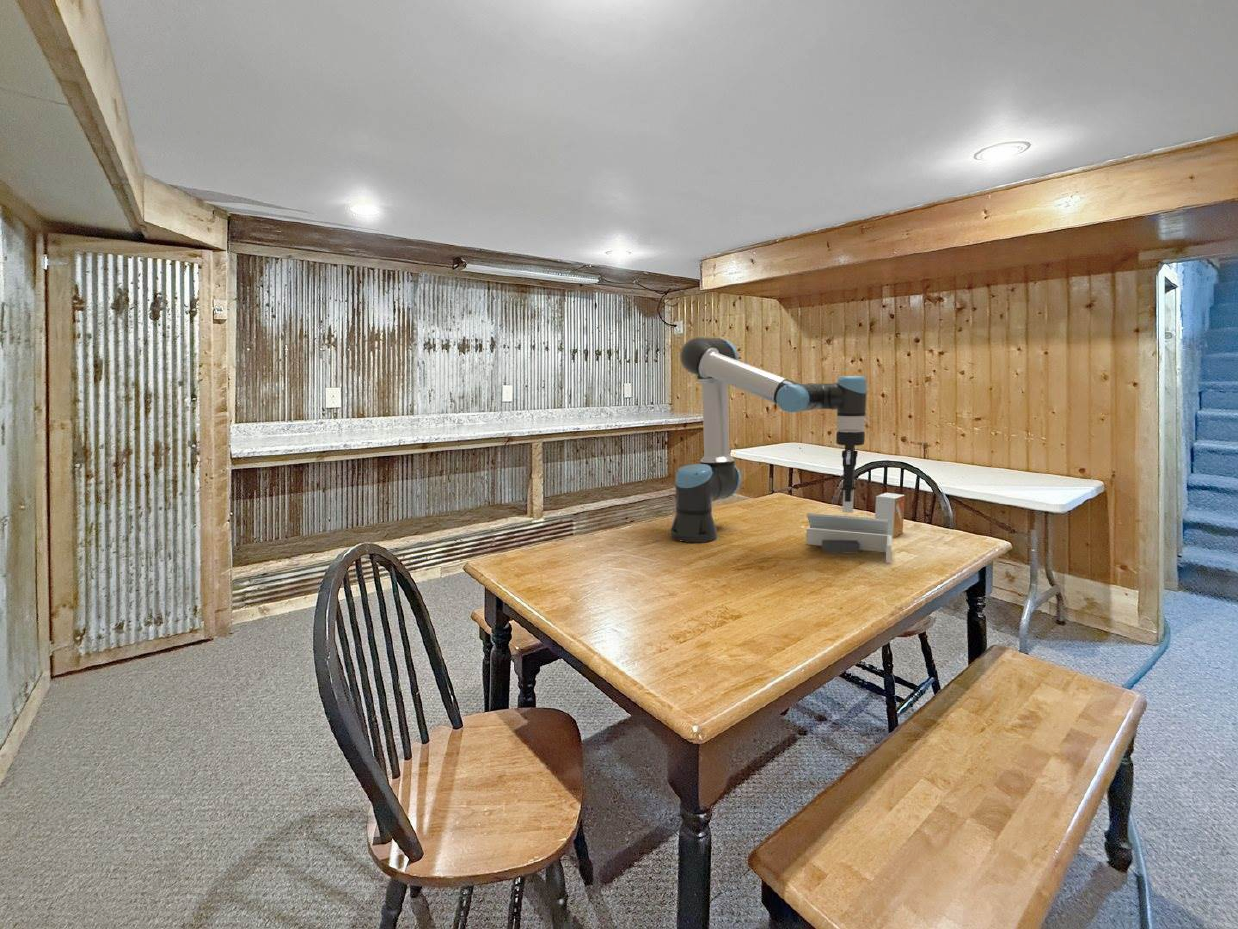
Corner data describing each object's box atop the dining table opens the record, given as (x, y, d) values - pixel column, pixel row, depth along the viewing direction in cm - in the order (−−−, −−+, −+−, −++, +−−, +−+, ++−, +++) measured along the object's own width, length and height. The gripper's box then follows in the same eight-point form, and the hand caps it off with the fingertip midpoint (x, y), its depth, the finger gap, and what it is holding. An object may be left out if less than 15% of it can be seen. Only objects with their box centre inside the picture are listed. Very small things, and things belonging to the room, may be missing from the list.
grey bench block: (800, 553, 173) (801, 537, 172) (807, 541, 186) (808, 525, 185) (890, 563, 163) (891, 545, 162) (891, 549, 176) (891, 533, 175)
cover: (805, 517, 171) (806, 513, 172) (810, 528, 182) (810, 524, 182) (888, 523, 162) (888, 519, 162) (888, 535, 172) (888, 531, 173)
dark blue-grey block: (823, 552, 174) (824, 543, 174) (821, 549, 178) (822, 539, 177) (859, 553, 173) (859, 544, 173) (856, 550, 176) (856, 540, 176)
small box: (893, 538, 188) (895, 498, 186) (873, 534, 192) (875, 495, 190) (903, 533, 193) (905, 494, 191) (883, 530, 198) (885, 492, 196)
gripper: (863, 433, 159) (860, 517, 162) (866, 429, 171) (862, 508, 174) (834, 432, 162) (831, 515, 166) (838, 428, 174) (836, 506, 177)
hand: (847, 511), depth 170 cm, fingers closed
